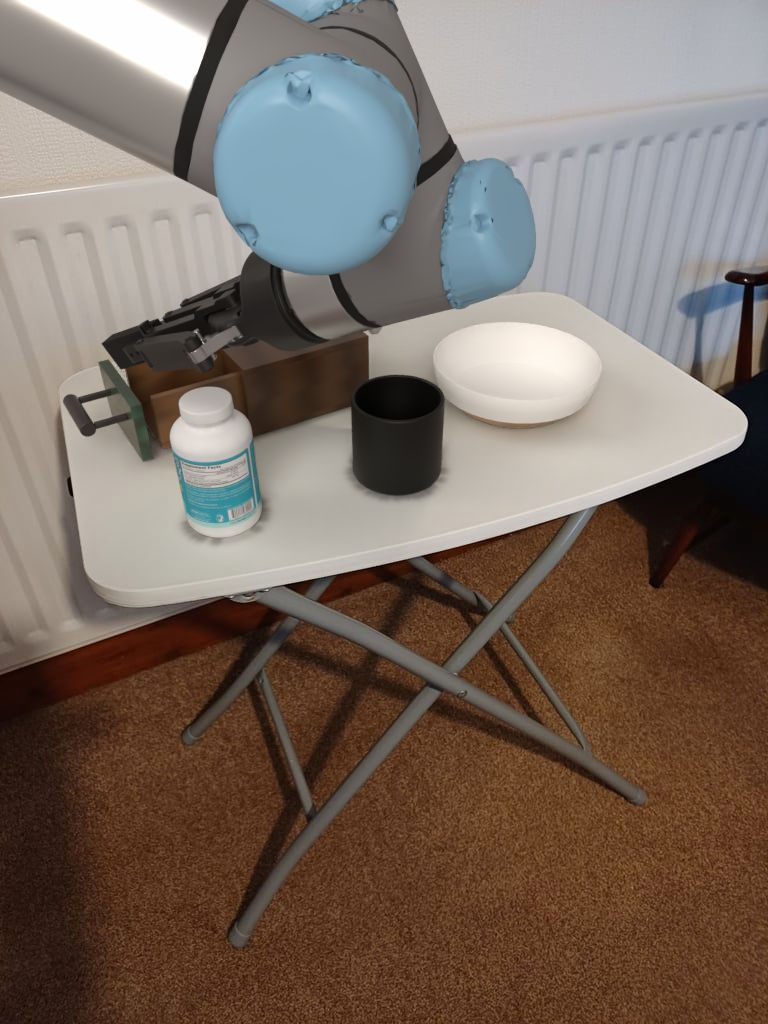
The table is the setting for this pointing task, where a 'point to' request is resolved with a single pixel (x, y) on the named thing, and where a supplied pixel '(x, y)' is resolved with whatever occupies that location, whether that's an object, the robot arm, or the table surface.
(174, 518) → the table surface
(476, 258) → the robot arm
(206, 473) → the pill bottle
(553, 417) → the bowl
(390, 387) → the mug
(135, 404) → the drawer
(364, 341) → the cabinet
